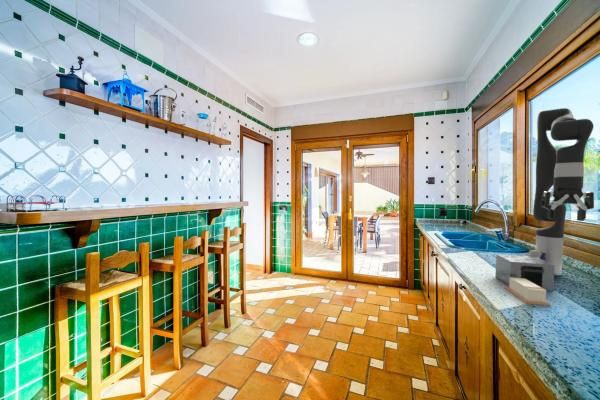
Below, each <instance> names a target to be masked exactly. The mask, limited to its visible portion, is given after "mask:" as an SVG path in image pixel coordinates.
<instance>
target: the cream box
mask: <svg viewBox="0 0 600 400" xmlns="http://www.w3.org/2000/svg"><path fill="white" fill-rule="evenodd" d="M509 288H511V289H512V290H514V291H515V292H517V293H518V294H520V295H521V296H523V297H524V298H526V299H527V300H530V301H540V302H546V301H547V290H545V289H543V288H541V287H539V286H537V285H536V284H534V283H532V282H530V281H529V280H527V279H525V278H513V277H510V281H509Z"/></svg>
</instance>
